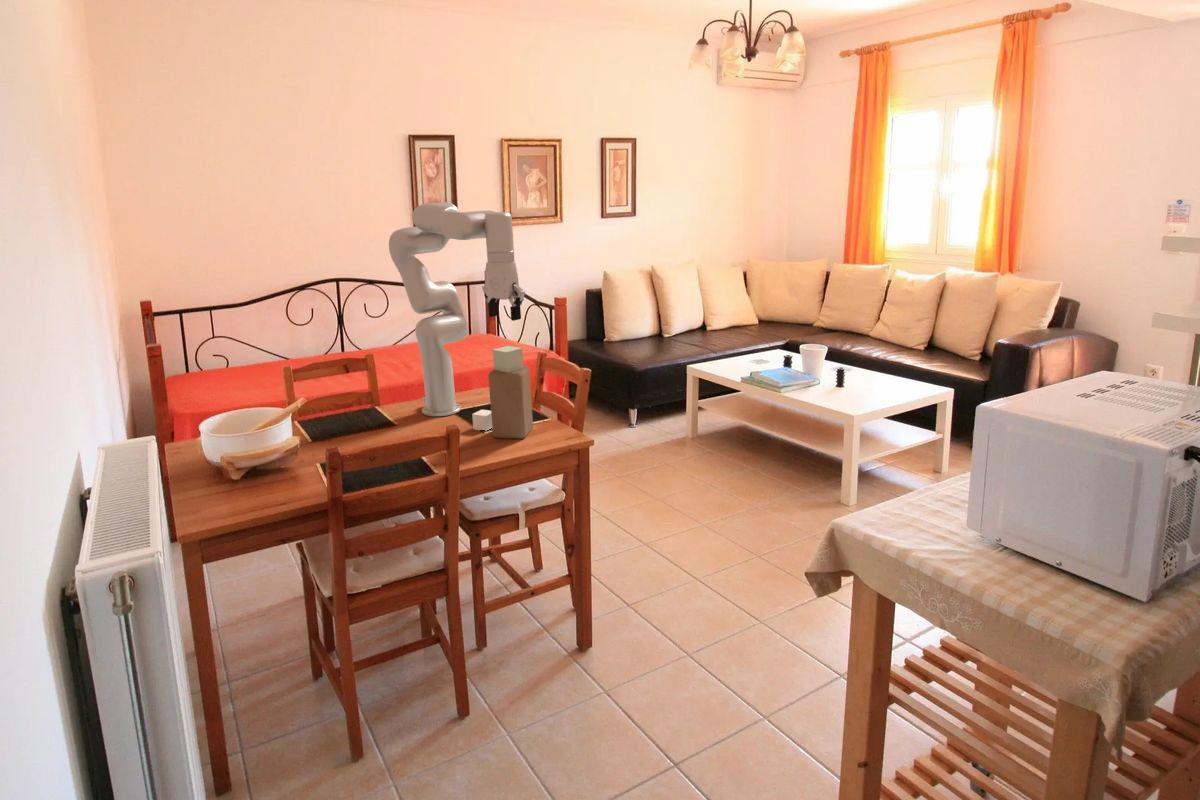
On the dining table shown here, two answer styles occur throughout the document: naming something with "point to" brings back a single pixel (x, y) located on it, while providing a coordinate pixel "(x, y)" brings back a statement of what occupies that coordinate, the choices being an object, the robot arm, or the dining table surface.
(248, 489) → the dining table surface
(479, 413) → the cream cube
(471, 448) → the dining table surface
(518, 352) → the sage cube
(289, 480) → the dining table surface
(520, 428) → the block
